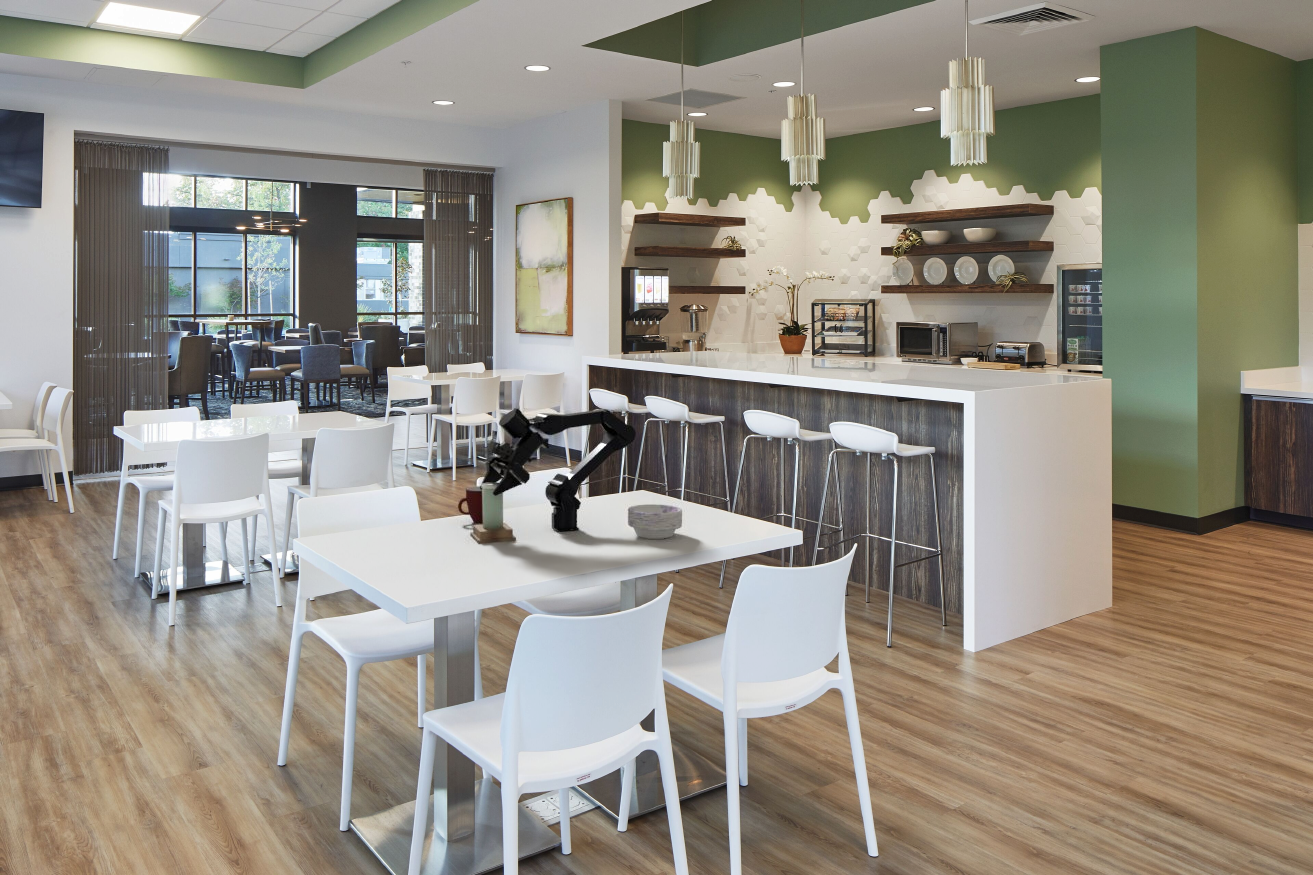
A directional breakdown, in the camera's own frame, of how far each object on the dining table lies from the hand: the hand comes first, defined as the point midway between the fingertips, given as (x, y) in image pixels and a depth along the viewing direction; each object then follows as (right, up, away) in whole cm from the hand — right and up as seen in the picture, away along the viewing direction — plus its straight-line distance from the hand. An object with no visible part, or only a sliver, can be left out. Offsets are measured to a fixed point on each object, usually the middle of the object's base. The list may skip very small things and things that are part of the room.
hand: (487, 492), depth 272 cm
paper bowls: (+46, -13, +6) cm, 48 cm away
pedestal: (+1, -13, +2) cm, 13 cm away
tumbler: (+1, -10, +2) cm, 10 cm away
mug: (-7, -10, +23) cm, 26 cm away
